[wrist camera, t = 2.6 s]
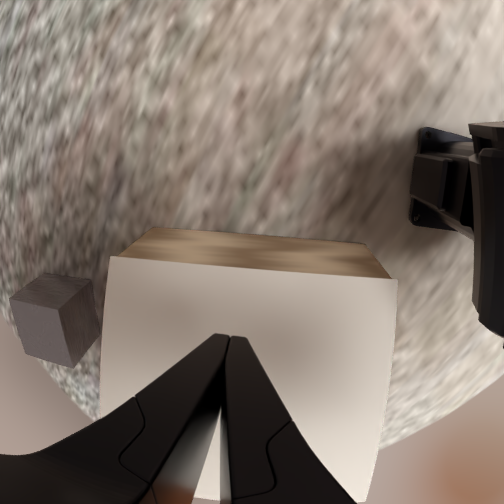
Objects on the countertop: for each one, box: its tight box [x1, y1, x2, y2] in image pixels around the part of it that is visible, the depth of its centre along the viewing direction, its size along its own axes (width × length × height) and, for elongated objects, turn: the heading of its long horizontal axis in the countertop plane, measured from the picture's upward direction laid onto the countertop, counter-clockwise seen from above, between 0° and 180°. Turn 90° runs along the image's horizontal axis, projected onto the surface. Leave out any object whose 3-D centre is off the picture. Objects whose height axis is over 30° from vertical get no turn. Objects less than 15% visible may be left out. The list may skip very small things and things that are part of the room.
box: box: [117, 227, 392, 279], centre depth 20 cm, size 14×12×6 cm
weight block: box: [9, 273, 101, 369], centre depth 21 cm, size 5×5×5 cm
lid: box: [100, 256, 398, 503], centre depth 14 cm, size 14×12×1 cm
